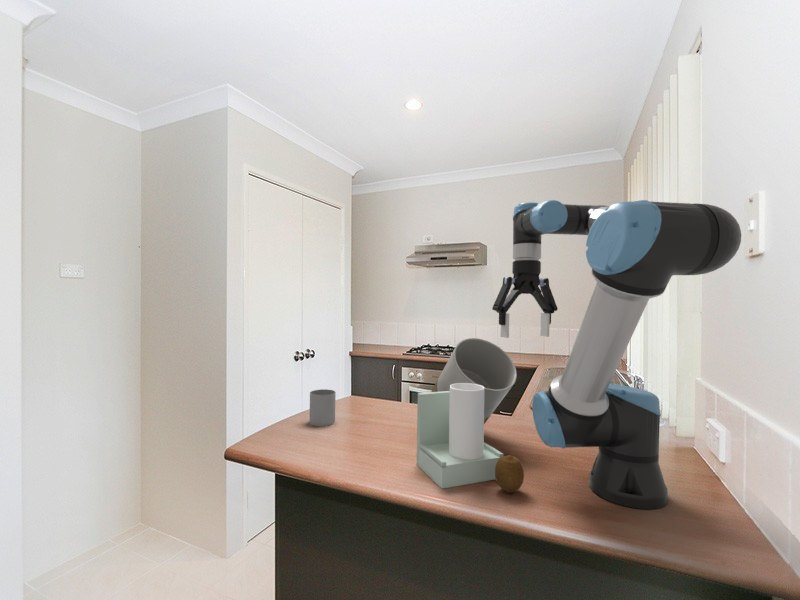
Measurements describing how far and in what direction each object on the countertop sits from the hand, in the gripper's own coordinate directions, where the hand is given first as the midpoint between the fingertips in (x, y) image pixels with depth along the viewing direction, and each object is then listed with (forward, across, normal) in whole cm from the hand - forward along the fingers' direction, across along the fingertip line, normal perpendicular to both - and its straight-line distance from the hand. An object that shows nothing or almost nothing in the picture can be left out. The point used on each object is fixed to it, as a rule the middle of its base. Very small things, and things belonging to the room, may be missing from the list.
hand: (525, 336), depth 115 cm
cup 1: (+32, +48, -43) cm, 72 cm away
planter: (+27, +10, -22) cm, 37 cm away
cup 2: (+27, +23, +8) cm, 36 cm away
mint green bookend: (+32, +24, +6) cm, 40 cm away
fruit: (+32, +19, +19) cm, 41 cm away
